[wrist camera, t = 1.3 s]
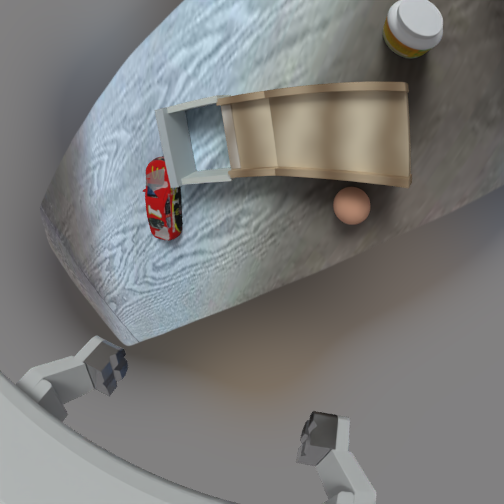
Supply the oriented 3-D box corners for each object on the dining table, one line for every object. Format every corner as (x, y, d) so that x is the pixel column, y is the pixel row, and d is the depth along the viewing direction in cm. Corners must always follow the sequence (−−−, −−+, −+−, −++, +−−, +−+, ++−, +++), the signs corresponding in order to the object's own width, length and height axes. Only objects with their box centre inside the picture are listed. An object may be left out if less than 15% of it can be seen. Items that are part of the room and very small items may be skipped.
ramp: (398, 86, 25) (411, 82, 19) (403, 167, 30) (415, 188, 23) (230, 98, 33) (195, 100, 26) (241, 169, 37) (211, 189, 30)
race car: (153, 153, 41) (136, 159, 38) (182, 156, 40) (166, 162, 36) (157, 229, 48) (143, 240, 45) (184, 236, 47) (171, 248, 43)
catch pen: (231, 95, 33) (212, 95, 29) (243, 172, 37) (227, 183, 33) (176, 106, 36) (154, 110, 32) (190, 177, 40) (170, 188, 36)
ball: (369, 182, 32) (370, 193, 29) (369, 216, 34) (370, 231, 31) (334, 182, 34) (330, 193, 30) (335, 215, 36) (332, 230, 32)
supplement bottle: (411, 68, 24) (431, 56, 16) (373, 37, 24) (378, 15, 16) (436, 39, 21) (461, 20, 13) (397, 9, 20) (409, -21, 12)
